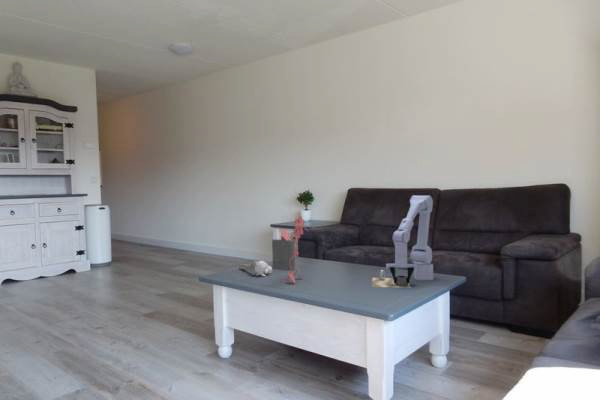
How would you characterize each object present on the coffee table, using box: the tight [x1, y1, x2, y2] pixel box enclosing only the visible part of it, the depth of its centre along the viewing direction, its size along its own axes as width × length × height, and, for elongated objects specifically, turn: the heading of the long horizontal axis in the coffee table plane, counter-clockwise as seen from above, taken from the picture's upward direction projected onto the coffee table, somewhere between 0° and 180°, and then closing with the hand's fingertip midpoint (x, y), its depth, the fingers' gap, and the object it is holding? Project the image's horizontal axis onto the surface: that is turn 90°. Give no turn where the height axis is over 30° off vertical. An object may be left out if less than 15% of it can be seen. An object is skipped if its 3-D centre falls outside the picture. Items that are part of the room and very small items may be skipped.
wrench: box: [238, 260, 258, 276], centre depth 249 cm, size 8×2×30 cm
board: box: [371, 277, 412, 289], centre depth 212 cm, size 18×20×1 cm
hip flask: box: [271, 235, 296, 272], centre depth 257 cm, size 16×4×20 cm, turn 56°
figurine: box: [279, 215, 315, 286], centre depth 222 cm, size 15×26×35 cm, turn 157°
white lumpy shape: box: [255, 260, 273, 277], centre depth 240 cm, size 6×8×12 cm
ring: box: [395, 274, 408, 286], centre depth 207 cm, size 6×6×4 cm
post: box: [379, 269, 386, 281], centre depth 218 cm, size 3×3×5 cm
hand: (401, 282), depth 207 cm, fingers closed on ring, 6 cm apart
